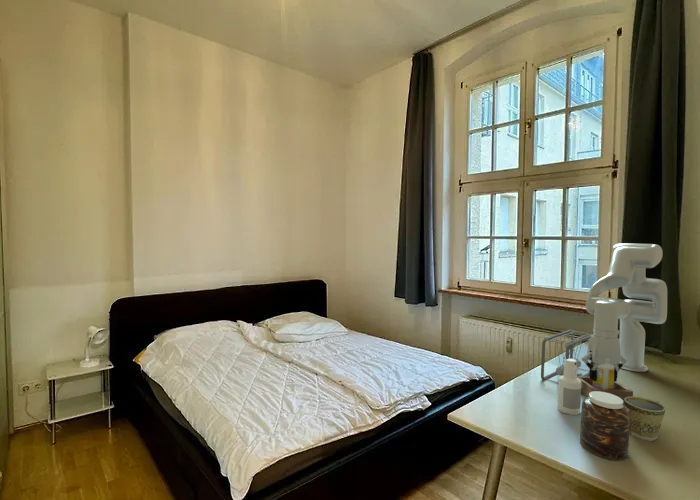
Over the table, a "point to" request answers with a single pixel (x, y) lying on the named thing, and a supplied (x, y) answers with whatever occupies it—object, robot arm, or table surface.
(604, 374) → the supplement bottle
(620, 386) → the box
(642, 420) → the ceramic cup
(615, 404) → the jar
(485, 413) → the table surface
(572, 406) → the spray bottle
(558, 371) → the newton's cradle
